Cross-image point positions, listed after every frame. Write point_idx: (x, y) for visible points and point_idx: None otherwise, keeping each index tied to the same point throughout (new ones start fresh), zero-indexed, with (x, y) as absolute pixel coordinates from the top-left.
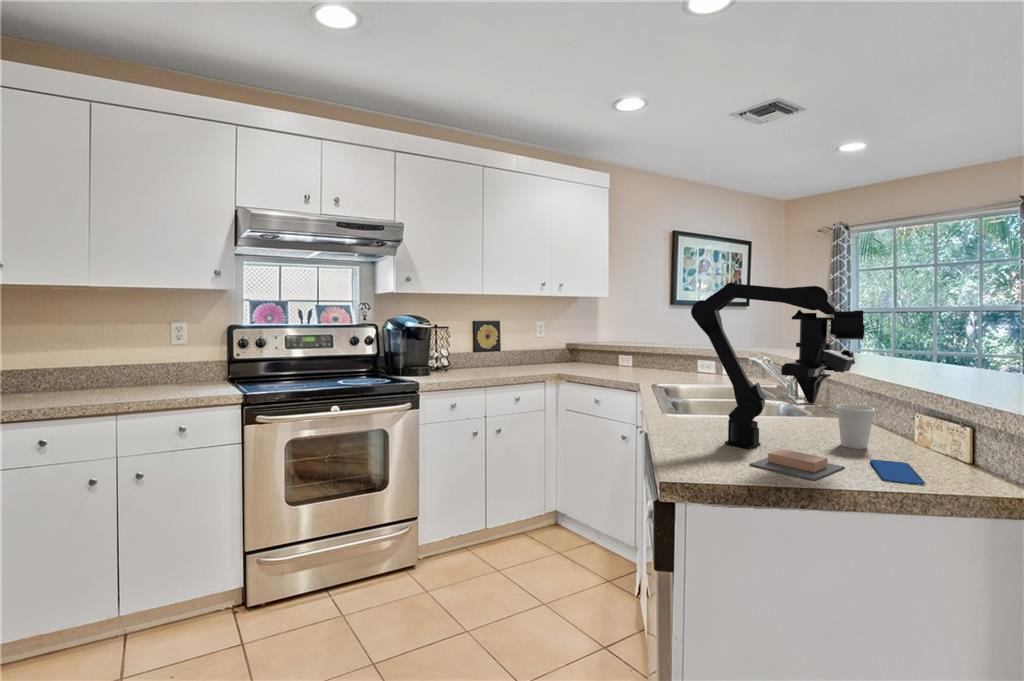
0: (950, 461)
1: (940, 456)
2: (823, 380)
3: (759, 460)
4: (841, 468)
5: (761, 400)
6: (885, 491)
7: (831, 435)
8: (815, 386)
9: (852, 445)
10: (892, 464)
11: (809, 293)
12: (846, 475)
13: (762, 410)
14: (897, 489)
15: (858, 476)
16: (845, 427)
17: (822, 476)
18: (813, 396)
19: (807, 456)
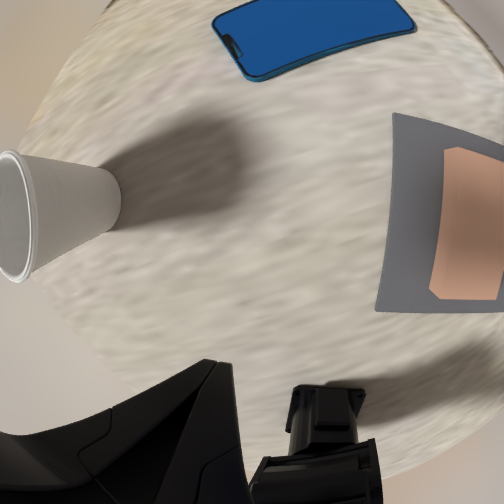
0: (108, 20)
1: (80, 50)
2: (6, 435)
3: (475, 312)
4: (414, 117)
5: (366, 499)
6: (473, 33)
7: (58, 281)
8: (204, 484)
9: (115, 192)
10: (257, 30)
11: None
12: (447, 100)
13: (319, 468)
14: (444, 13)
15: (431, 75)
16: (83, 219)
17: (502, 145)
18: (234, 399)
19: (478, 202)
